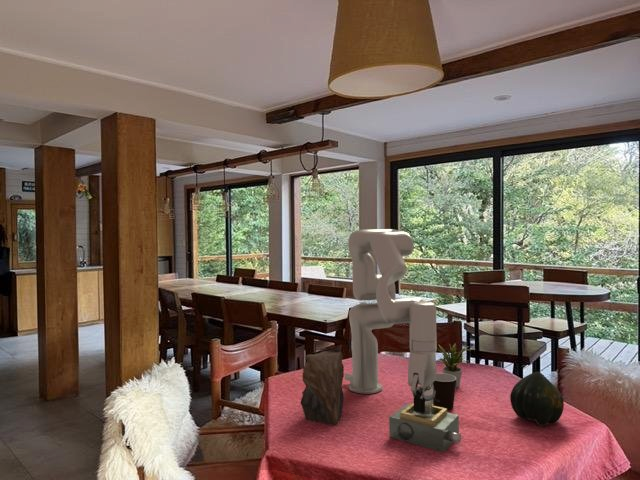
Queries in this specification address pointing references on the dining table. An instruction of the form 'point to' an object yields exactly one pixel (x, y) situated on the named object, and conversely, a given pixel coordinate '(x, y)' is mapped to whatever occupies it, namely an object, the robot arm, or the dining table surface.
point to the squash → (537, 399)
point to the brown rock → (323, 387)
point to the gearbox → (425, 427)
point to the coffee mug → (444, 391)
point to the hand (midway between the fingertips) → (423, 407)
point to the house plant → (453, 362)
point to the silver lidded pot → (427, 400)
